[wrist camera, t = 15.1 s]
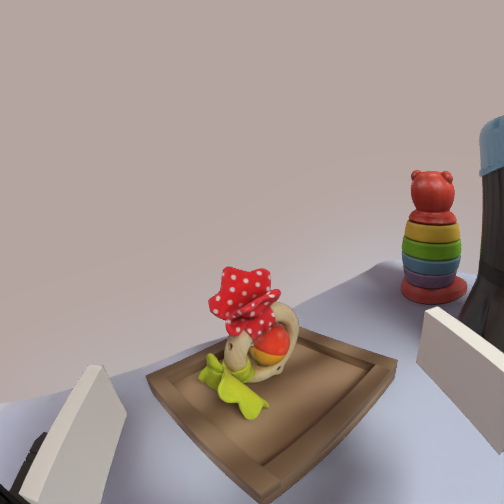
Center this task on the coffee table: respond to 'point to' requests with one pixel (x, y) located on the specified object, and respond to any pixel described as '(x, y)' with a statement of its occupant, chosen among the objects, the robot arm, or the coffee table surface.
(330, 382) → the walnut plate
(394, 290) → the coffee table surface
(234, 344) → the bird rattle
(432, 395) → the coffee table surface
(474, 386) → the robot arm
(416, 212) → the stacking bear
